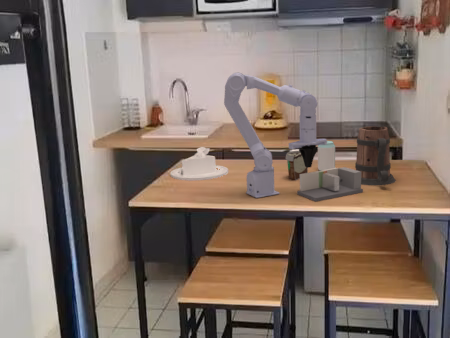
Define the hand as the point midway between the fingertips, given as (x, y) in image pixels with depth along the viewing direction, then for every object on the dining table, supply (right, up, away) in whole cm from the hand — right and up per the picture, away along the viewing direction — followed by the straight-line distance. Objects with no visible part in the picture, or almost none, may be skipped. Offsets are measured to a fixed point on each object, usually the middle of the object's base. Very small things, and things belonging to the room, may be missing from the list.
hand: (308, 166), depth 179 cm
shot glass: (+3, 0, +44) cm, 44 cm away
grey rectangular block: (+9, -7, 0) cm, 12 cm away
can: (+13, -1, +34) cm, 36 cm away
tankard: (+27, -6, +12) cm, 30 cm away
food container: (-1, -4, +25) cm, 25 cm away
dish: (-40, -3, +39) cm, 56 cm away
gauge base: (+8, -9, 0) cm, 12 cm away
